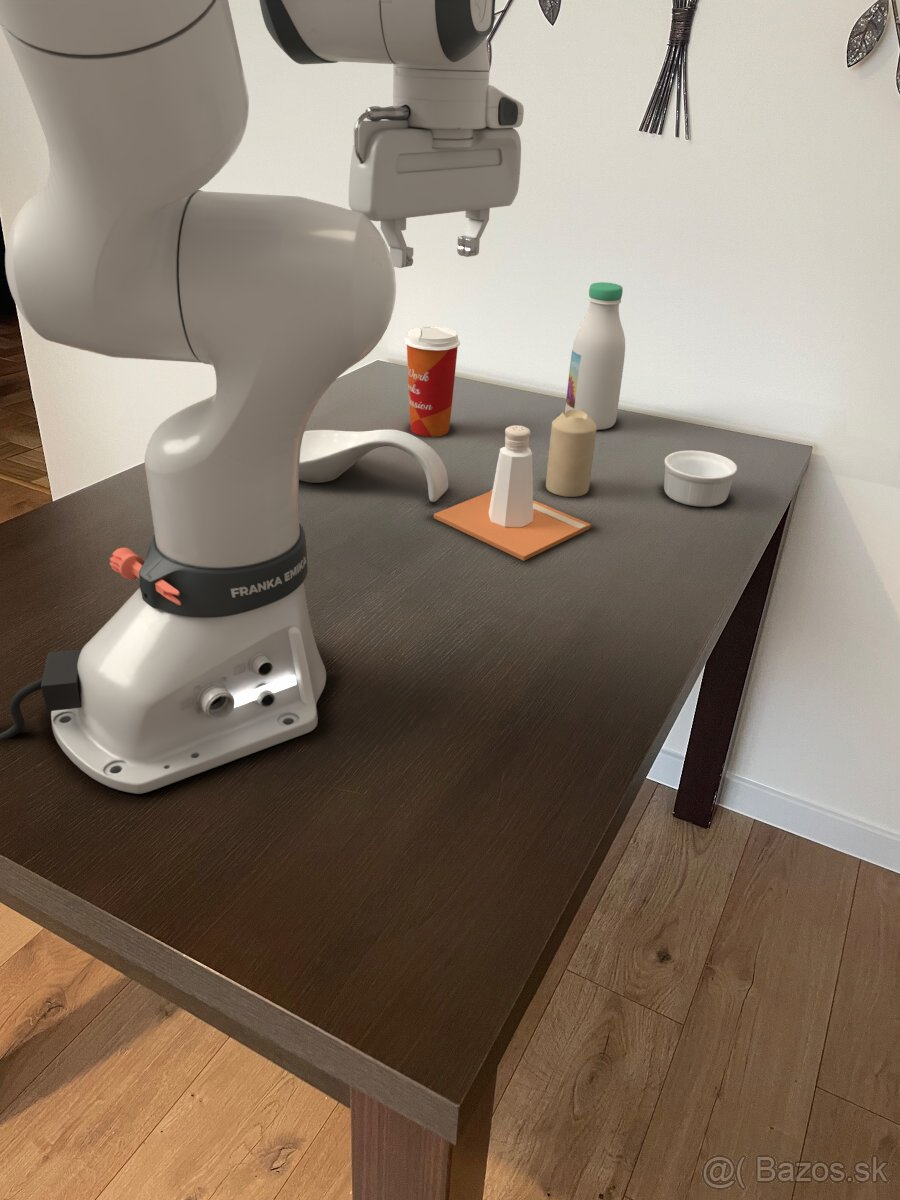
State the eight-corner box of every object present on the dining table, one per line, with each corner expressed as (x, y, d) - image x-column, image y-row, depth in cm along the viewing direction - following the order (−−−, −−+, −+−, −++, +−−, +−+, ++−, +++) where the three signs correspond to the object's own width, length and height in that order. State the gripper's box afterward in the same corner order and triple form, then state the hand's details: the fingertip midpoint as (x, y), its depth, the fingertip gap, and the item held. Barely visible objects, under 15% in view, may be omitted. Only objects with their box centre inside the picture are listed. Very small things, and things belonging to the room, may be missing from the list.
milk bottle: (623, 420, 140) (642, 284, 130) (602, 435, 134) (621, 294, 124) (577, 409, 143) (592, 276, 133) (555, 423, 138) (569, 285, 127)
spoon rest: (249, 482, 115) (245, 427, 111) (294, 450, 125) (291, 399, 121) (426, 516, 109) (428, 459, 105) (459, 480, 118) (461, 426, 114)
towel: (523, 561, 100) (524, 555, 100) (433, 518, 108) (433, 512, 108) (590, 528, 108) (591, 523, 107) (501, 490, 116) (501, 485, 116)
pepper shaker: (481, 523, 106) (487, 433, 101) (494, 505, 111) (500, 417, 105) (527, 532, 105) (536, 440, 99) (538, 512, 109) (547, 424, 104)
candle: (587, 499, 115) (596, 423, 109) (543, 494, 115) (550, 418, 110) (590, 482, 119) (599, 408, 114) (548, 477, 120) (555, 403, 115)
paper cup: (397, 422, 135) (398, 326, 128) (447, 418, 137) (450, 324, 130) (411, 441, 129) (413, 341, 122) (463, 437, 131) (468, 339, 124)
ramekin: (698, 515, 112) (705, 482, 110) (645, 490, 118) (650, 458, 116) (745, 499, 116) (752, 467, 114) (691, 475, 122) (697, 445, 120)
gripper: (379, 109, 77) (379, 279, 84) (535, 106, 90) (524, 254, 97) (331, 103, 81) (335, 267, 88) (488, 102, 94) (480, 245, 101)
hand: (435, 260), depth 93 cm, fingers open, 8 cm apart
